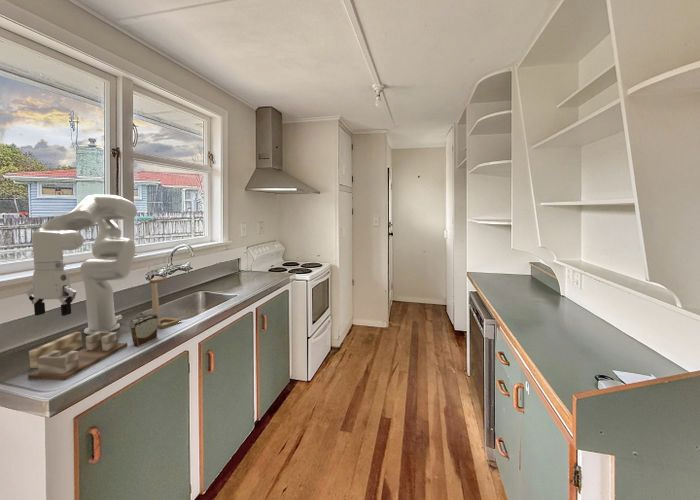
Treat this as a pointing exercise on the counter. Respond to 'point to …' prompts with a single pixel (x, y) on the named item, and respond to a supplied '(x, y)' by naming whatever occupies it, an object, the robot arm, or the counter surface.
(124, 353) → the counter surface
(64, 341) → the slat
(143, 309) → the counter surface
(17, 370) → the counter surface
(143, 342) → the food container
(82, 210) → the robot arm
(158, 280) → the headphone stand
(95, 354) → the board
